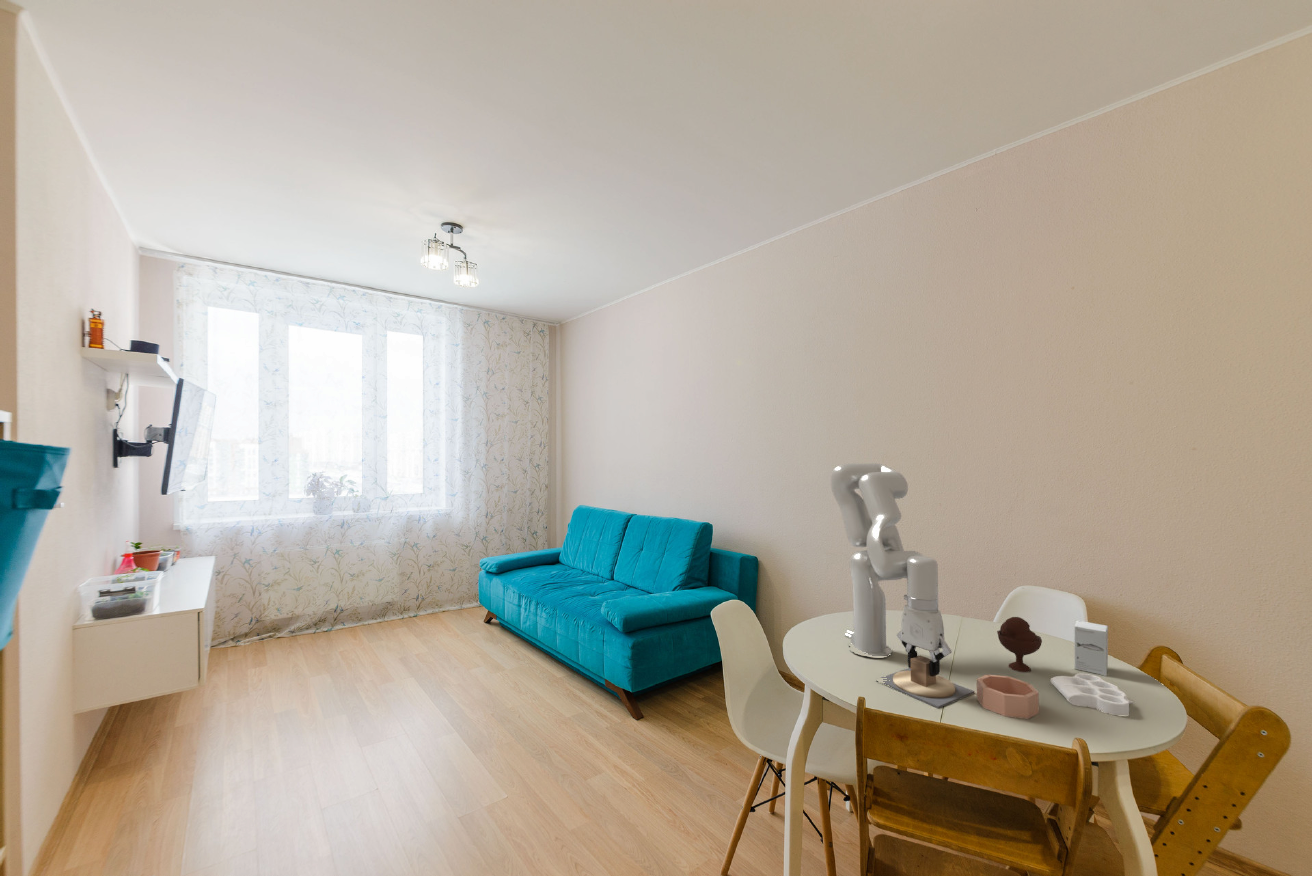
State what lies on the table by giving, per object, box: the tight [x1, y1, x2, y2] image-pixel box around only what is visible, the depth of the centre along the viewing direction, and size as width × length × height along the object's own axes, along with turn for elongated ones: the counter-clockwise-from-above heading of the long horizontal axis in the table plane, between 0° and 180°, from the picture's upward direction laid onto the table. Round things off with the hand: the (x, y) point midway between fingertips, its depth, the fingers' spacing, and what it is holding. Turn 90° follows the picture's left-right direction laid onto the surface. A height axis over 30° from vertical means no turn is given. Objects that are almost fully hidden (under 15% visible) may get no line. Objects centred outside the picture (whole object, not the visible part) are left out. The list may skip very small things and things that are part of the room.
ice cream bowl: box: [996, 616, 1043, 673], centre depth 157 cm, size 11×11×15 cm
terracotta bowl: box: [976, 674, 1040, 719], centre depth 135 cm, size 12×12×5 cm
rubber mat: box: [880, 667, 975, 709], centre depth 145 cm, size 18×16×1 cm
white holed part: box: [1050, 672, 1135, 716], centre depth 138 cm, size 3×18×15 cm
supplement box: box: [1073, 620, 1109, 677], centre depth 156 cm, size 7×7×13 cm
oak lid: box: [893, 655, 955, 698], centre depth 145 cm, size 15×15×7 cm
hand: (923, 670), depth 145 cm, fingers open, 5 cm apart
